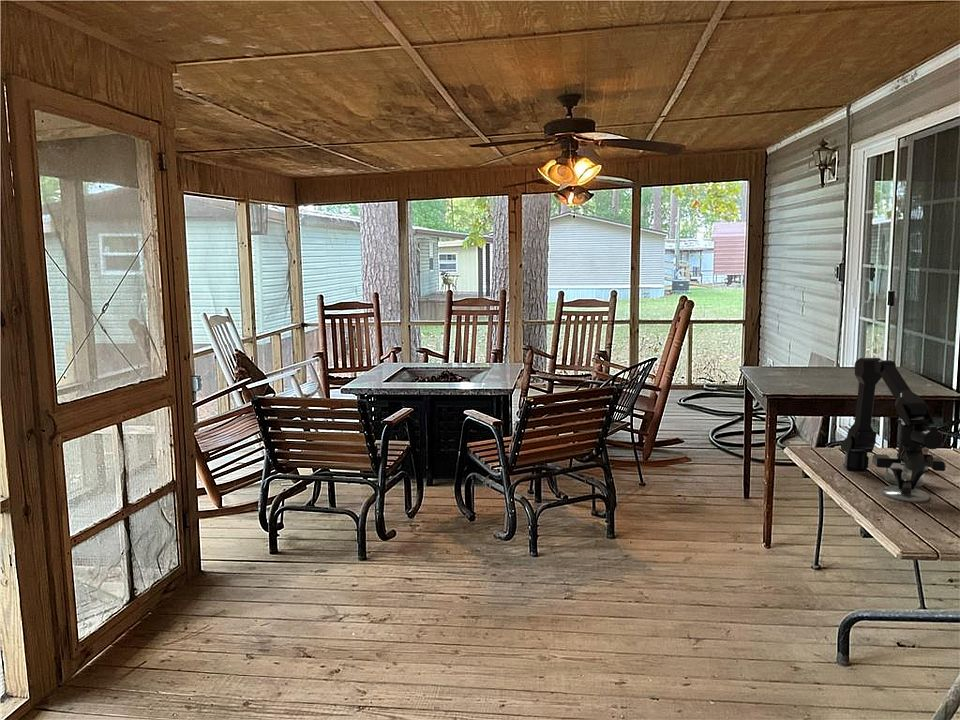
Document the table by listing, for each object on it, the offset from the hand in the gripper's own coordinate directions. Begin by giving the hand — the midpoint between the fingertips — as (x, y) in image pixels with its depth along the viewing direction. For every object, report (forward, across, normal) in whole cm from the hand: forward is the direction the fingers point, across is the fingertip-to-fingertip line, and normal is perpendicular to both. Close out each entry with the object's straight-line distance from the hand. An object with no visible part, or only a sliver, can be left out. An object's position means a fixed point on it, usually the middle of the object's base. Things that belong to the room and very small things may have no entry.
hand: (905, 489), depth 216 cm
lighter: (+2, +12, +32) cm, 34 cm away
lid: (+2, 0, 0) cm, 2 cm away
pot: (+2, +4, +15) cm, 16 cm away
